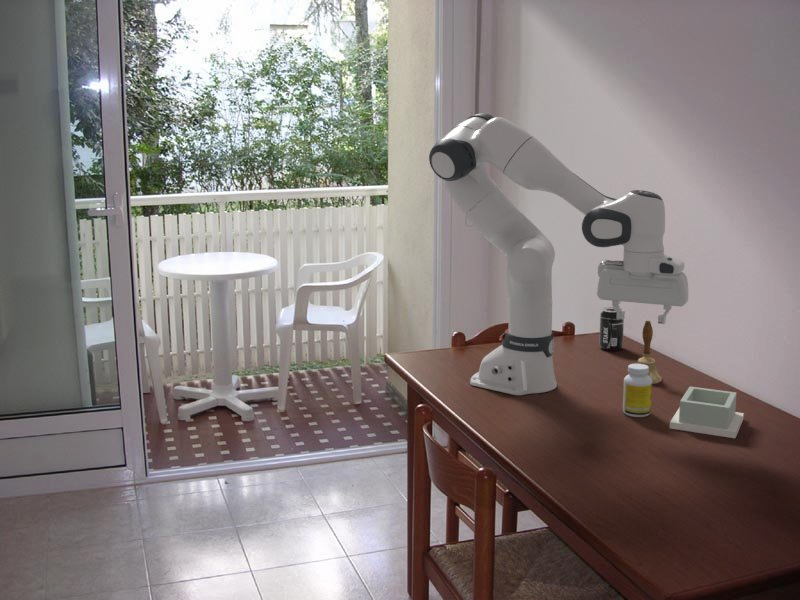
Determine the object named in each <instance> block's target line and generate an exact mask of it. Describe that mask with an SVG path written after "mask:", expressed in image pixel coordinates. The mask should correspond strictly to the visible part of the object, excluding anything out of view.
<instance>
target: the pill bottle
mask: <svg viewBox="0 0 800 600" xmlns="http://www.w3.org/2000/svg"><path fill="white" fill-rule="evenodd" d="M627 372H628V374H627V375H625V377H624V378H623V385H622V386H623V393H622V412H623V413H624V414H625V415H627V416H629V417H633V418H645V417H648V416H649V415H650V414H651V411H652V391H653V384H652V379H651V378H650V377H649V376H648V375H647V374H648V372H649V367H648V366H647V365H644V364H637V363H631V364H629V365H627Z"/></svg>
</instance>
